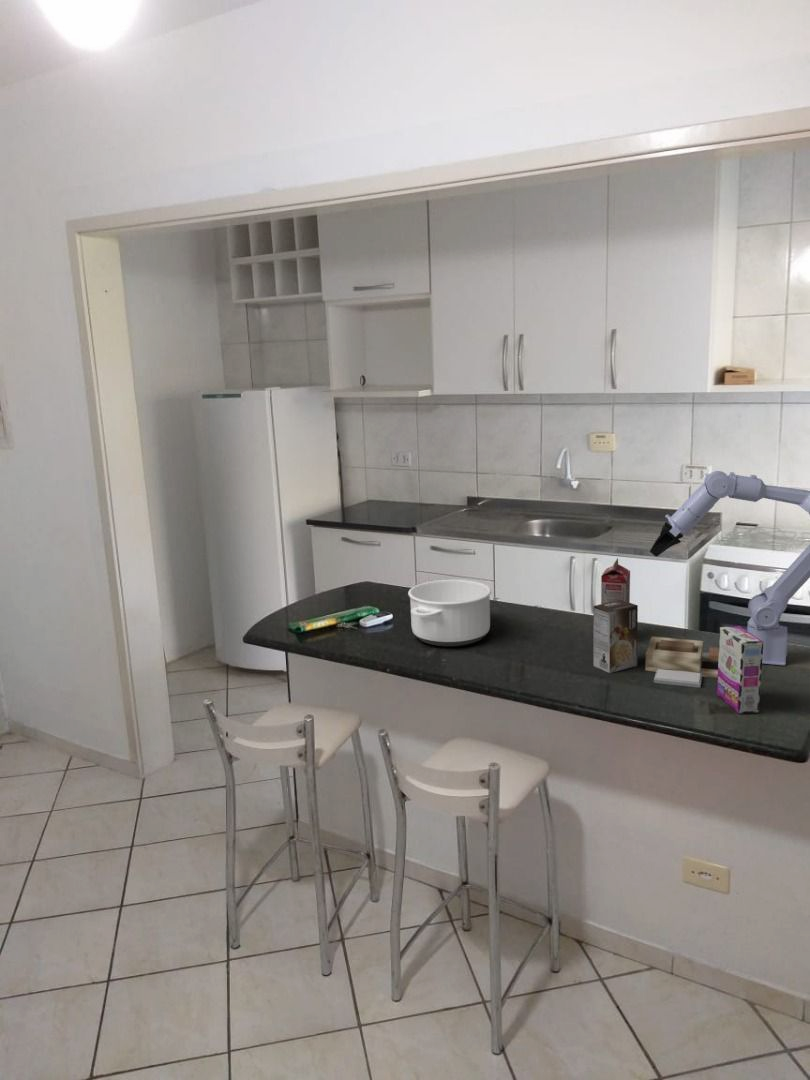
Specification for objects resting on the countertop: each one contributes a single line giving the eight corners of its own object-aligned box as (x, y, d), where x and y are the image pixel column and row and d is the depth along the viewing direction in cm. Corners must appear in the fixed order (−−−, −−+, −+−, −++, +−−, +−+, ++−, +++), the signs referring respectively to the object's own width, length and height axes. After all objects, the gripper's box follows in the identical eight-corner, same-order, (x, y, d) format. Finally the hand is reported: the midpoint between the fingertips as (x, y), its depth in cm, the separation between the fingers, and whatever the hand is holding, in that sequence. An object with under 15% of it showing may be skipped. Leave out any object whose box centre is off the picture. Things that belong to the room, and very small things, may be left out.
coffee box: (620, 658, 217) (621, 598, 214) (637, 666, 212) (639, 605, 208) (592, 666, 213) (592, 605, 210) (609, 674, 208) (610, 611, 204)
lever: (719, 653, 210) (720, 647, 210) (718, 662, 205) (719, 656, 205) (658, 648, 216) (659, 642, 216) (656, 656, 211) (656, 650, 210)
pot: (456, 662, 219) (455, 612, 216) (383, 648, 232) (381, 600, 229) (514, 626, 246) (514, 580, 243) (446, 614, 259) (445, 571, 256)
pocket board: (720, 659, 214) (721, 642, 213) (718, 677, 202) (719, 660, 201) (651, 652, 220) (651, 636, 219) (645, 670, 209) (645, 653, 208)
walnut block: (694, 650, 212) (694, 642, 211) (692, 656, 208) (693, 648, 208) (660, 647, 215) (661, 639, 214) (659, 652, 211) (659, 645, 211)
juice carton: (600, 641, 230) (601, 563, 225) (604, 634, 236) (605, 557, 231) (625, 644, 227) (627, 565, 222) (628, 636, 233) (630, 558, 228)
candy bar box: (760, 713, 183) (764, 641, 179) (738, 714, 183) (742, 643, 179) (736, 692, 194) (740, 624, 190) (715, 694, 193) (718, 626, 190)
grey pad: (701, 677, 203) (702, 672, 203) (700, 687, 197) (700, 682, 197) (656, 672, 207) (656, 668, 207) (653, 682, 201) (653, 678, 201)
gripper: (680, 498, 217) (644, 537, 221) (677, 503, 203) (639, 545, 208) (702, 516, 216) (665, 555, 220) (700, 523, 202) (661, 564, 207)
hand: (654, 551), depth 214 cm, fingers open, 7 cm apart
